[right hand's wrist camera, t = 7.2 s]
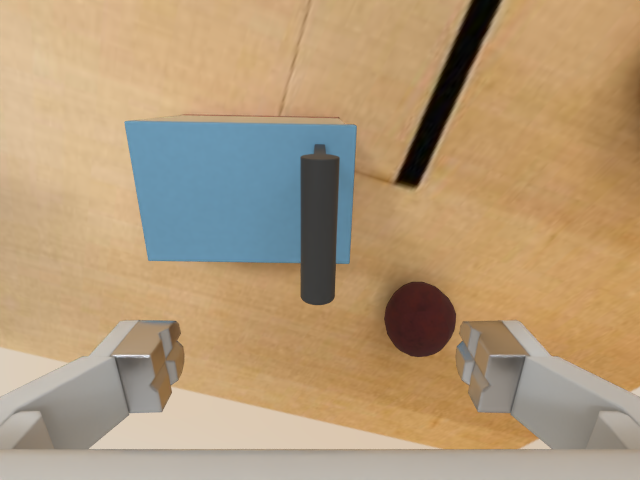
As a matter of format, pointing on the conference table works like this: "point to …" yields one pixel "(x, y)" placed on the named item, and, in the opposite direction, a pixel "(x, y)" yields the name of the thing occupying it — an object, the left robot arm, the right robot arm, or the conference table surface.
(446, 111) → the conference table surface
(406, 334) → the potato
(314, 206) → the lid
